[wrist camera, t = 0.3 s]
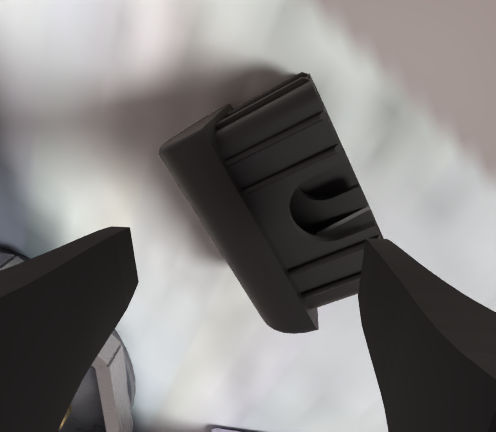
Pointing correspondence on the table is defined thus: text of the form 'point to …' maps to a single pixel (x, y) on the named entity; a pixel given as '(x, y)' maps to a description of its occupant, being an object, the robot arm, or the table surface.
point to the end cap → (278, 201)
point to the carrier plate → (97, 383)
